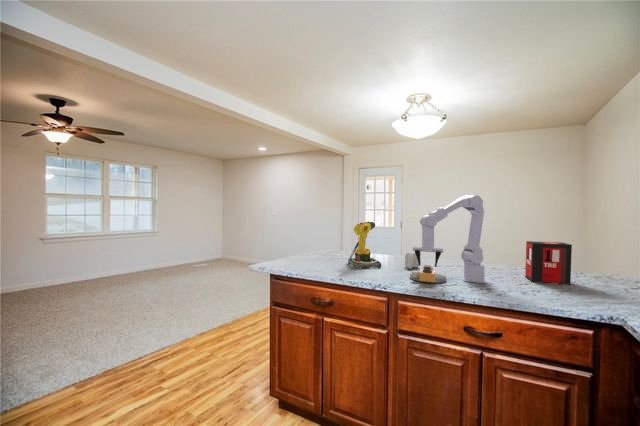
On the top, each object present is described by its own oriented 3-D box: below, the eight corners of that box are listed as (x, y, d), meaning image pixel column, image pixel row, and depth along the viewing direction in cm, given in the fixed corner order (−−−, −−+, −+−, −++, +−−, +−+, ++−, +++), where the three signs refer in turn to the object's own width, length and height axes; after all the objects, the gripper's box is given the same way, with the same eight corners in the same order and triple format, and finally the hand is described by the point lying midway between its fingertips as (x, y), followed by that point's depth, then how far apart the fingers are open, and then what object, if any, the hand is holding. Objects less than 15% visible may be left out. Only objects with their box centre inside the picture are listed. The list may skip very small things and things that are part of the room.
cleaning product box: (531, 282, 154) (532, 243, 153) (525, 278, 162) (526, 241, 162) (570, 285, 149) (571, 244, 148) (561, 280, 157) (563, 242, 157)
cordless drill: (384, 268, 185) (385, 223, 185) (354, 269, 182) (355, 223, 181) (373, 262, 204) (374, 221, 203) (346, 263, 200) (346, 221, 199)
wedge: (430, 278, 153) (430, 265, 153) (430, 280, 149) (430, 266, 149) (424, 278, 154) (424, 264, 154) (423, 280, 150) (424, 266, 150)
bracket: (434, 277, 155) (435, 270, 155) (434, 282, 147) (434, 273, 147) (412, 275, 159) (412, 268, 159) (410, 279, 151) (411, 271, 151)
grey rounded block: (402, 268, 181) (403, 251, 183) (405, 269, 190) (406, 253, 192) (415, 270, 178) (416, 253, 179) (418, 270, 187) (419, 254, 188)
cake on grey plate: (446, 276, 164) (446, 265, 163) (446, 285, 147) (446, 272, 147) (411, 273, 171) (412, 263, 170) (408, 281, 154) (408, 269, 154)
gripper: (412, 239, 151) (411, 266, 151) (443, 240, 145) (443, 268, 146) (413, 237, 157) (413, 263, 158) (443, 239, 152) (443, 266, 152)
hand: (427, 266), depth 152 cm, fingers open, 7 cm apart
